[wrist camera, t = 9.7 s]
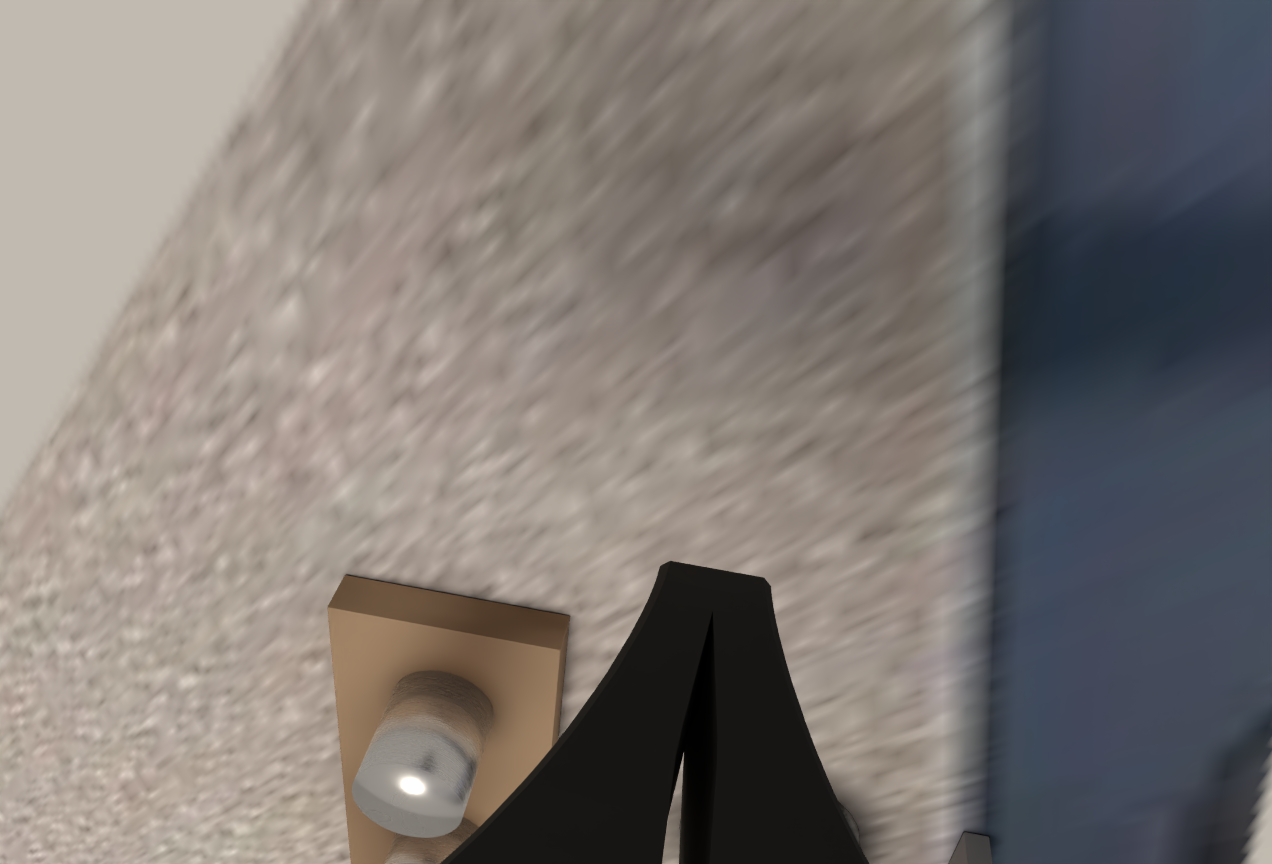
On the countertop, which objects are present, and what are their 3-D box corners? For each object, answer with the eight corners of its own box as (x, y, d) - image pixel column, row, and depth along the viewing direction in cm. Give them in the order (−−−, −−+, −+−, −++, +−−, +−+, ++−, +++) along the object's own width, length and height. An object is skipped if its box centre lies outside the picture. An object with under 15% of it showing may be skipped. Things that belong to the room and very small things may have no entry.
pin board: (569, 615, 27) (533, 747, 24) (544, 877, 34) (513, 1008, 31) (345, 574, 28) (277, 698, 24) (365, 842, 35) (315, 967, 31)
